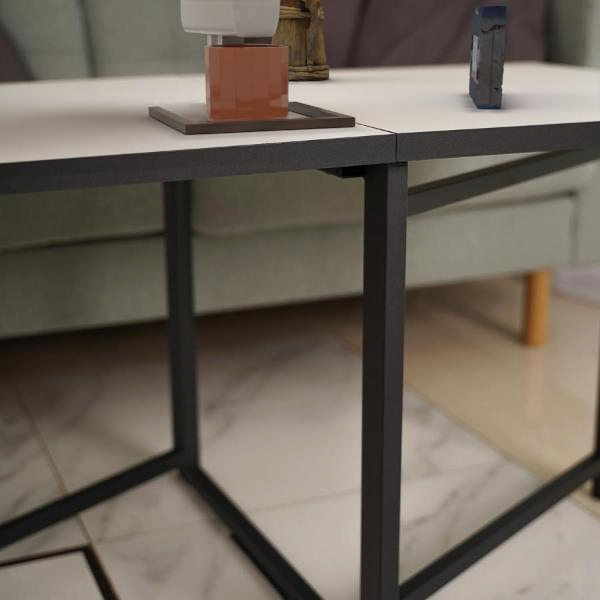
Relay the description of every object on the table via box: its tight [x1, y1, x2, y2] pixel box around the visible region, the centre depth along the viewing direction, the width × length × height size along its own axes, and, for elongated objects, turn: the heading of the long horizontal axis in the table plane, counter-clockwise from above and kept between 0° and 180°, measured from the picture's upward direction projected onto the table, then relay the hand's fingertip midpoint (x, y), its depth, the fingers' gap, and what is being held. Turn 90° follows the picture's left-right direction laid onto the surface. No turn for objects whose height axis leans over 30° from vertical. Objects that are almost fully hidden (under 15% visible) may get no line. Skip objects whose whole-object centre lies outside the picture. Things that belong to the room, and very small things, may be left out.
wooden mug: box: [271, 0, 330, 82], centre depth 125 cm, size 9×14×18 cm, turn 22°
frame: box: [147, 101, 356, 135], centre depth 82 cm, size 15×14×1 cm
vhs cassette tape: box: [468, 5, 508, 110], centre depth 99 cm, size 18×3×10 cm, turn 171°
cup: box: [204, 43, 290, 122], centre depth 82 cm, size 7×7×6 cm
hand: (226, 84), depth 88 cm, fingers closed
